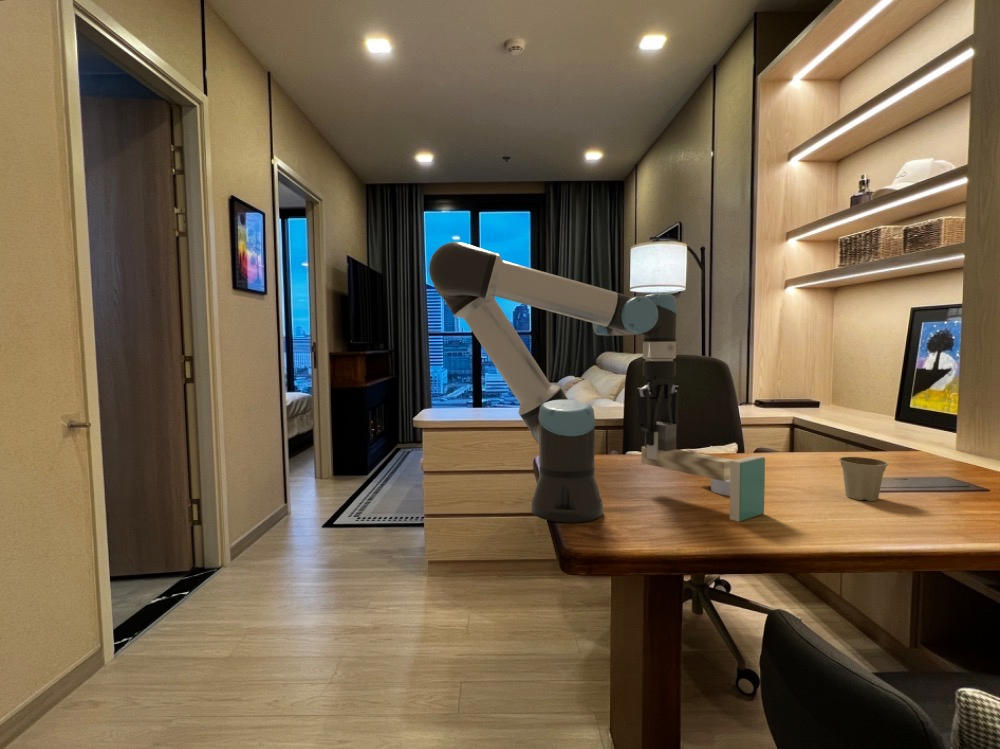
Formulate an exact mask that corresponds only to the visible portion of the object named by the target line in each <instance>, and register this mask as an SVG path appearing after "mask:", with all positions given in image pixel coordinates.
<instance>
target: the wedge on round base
mask: <svg viewBox="0 0 1000 749" xmlns="http://www.w3.org/2000/svg"><path fill="white" fill-rule="evenodd" d="M710 491H711V492H713V493H714V494H717V493H718V494H717V495H722V496H729V497H730V480H727V481H721V480H716V479H712V478H710Z"/></svg>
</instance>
